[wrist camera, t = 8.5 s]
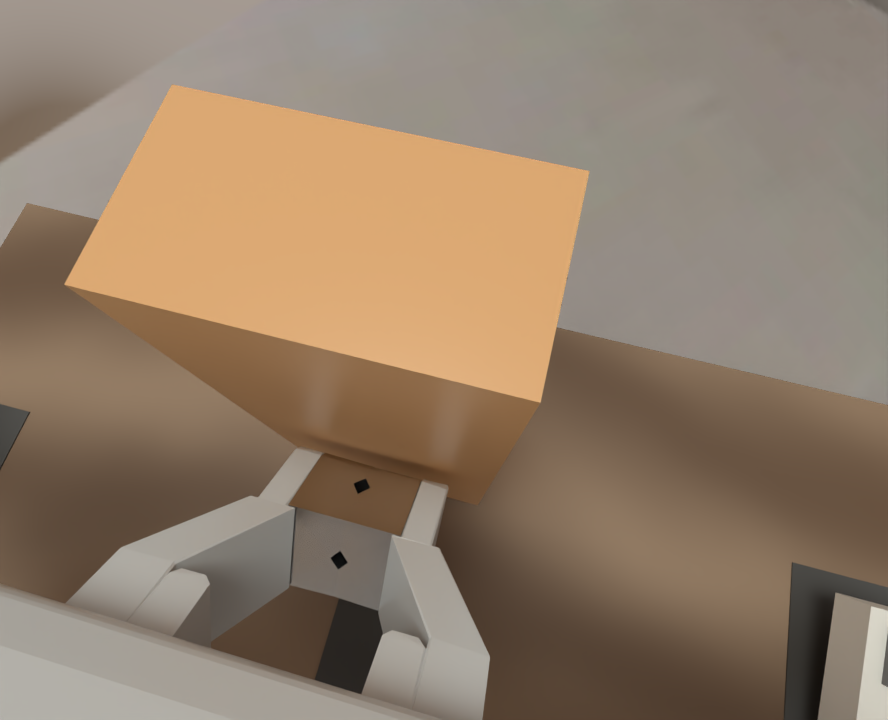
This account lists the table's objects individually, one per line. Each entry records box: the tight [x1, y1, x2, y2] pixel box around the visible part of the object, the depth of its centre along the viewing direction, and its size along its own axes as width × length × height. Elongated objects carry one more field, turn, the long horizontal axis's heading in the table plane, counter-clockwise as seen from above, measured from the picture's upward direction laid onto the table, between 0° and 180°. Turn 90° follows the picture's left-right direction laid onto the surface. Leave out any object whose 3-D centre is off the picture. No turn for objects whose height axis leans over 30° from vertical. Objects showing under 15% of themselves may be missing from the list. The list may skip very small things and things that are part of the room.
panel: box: [0, 203, 888, 720], centre depth 15 cm, size 16×29×2 cm, turn 75°
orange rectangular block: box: [64, 85, 589, 505], centre depth 10 cm, size 2×4×11 cm, turn 76°
